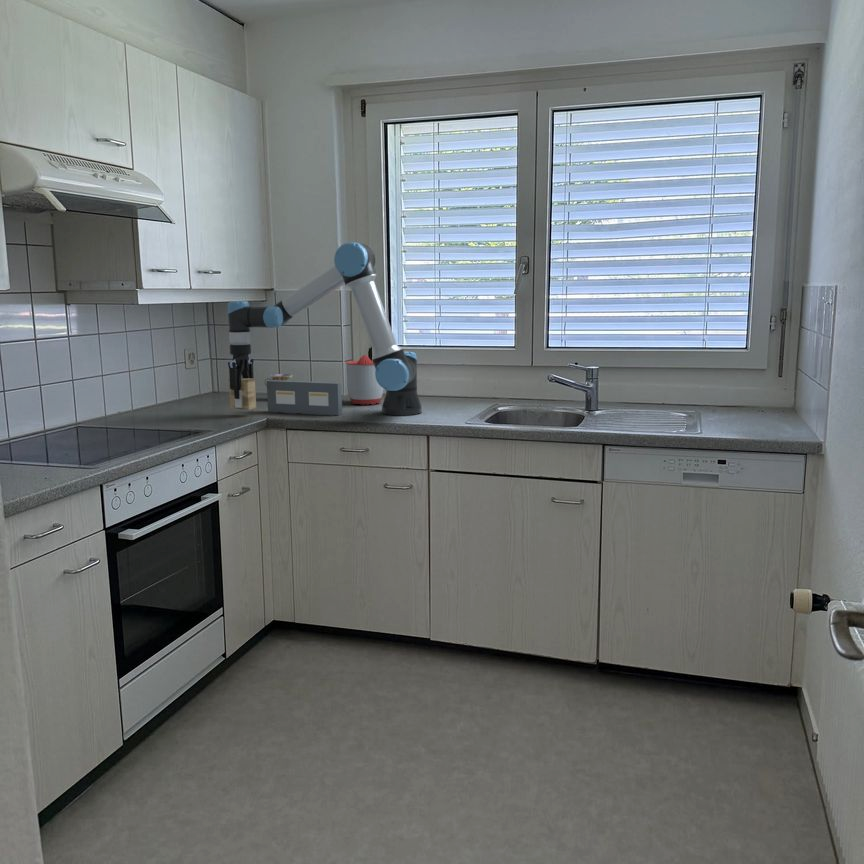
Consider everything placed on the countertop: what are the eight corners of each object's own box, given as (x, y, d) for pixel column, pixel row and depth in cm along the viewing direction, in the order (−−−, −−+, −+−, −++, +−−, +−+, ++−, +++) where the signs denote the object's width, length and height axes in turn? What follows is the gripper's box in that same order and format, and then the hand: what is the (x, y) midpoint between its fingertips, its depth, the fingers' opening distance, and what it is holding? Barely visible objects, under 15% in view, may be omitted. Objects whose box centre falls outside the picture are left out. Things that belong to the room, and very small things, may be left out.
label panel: (342, 414, 293) (341, 382, 291) (338, 415, 290) (337, 383, 287) (272, 410, 303) (270, 380, 300) (267, 412, 299) (265, 381, 297)
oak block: (256, 407, 292) (254, 378, 290) (248, 409, 287) (247, 380, 285) (237, 406, 294) (236, 377, 292) (230, 408, 290) (228, 379, 288)
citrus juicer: (385, 406, 311) (384, 356, 308) (342, 406, 313) (341, 356, 310) (392, 400, 327) (391, 353, 323) (351, 400, 329) (350, 352, 325)
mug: (295, 398, 336) (294, 373, 334) (292, 401, 327) (291, 376, 325) (267, 398, 335) (266, 374, 333) (263, 401, 326) (262, 376, 324)
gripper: (244, 341, 296) (247, 402, 300) (217, 345, 279) (220, 409, 284) (262, 342, 294) (264, 403, 298) (235, 345, 277) (238, 410, 281)
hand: (243, 406), depth 291 cm, fingers closed on oak block, 5 cm apart
